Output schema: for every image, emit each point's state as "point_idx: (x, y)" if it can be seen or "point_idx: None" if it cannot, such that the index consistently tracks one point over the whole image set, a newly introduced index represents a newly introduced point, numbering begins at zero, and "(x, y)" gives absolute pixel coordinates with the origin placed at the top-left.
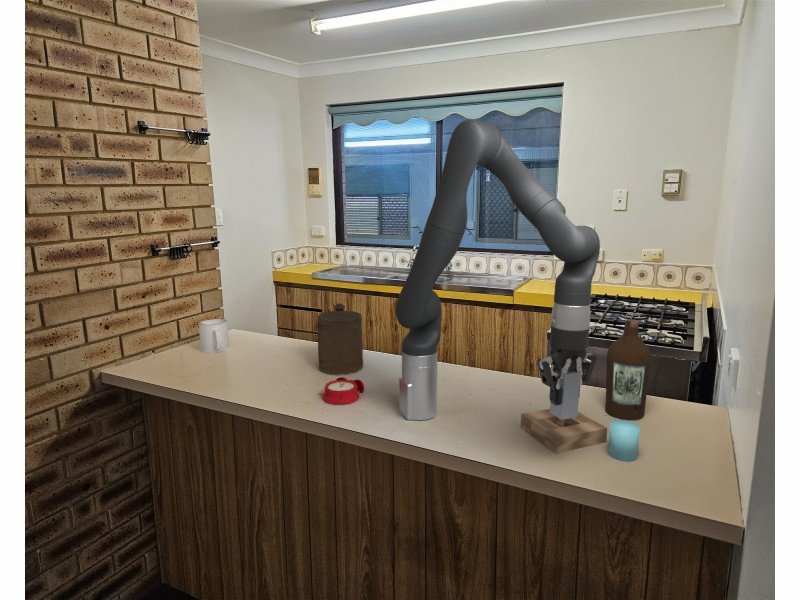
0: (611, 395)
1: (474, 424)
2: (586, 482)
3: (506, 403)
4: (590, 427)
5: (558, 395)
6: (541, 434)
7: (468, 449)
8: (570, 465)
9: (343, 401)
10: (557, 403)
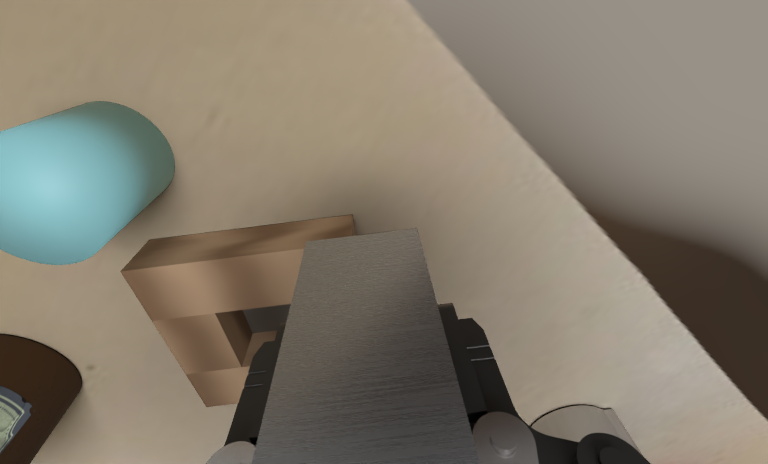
0: (23, 429)
1: None
2: (355, 4)
3: None
4: (187, 285)
5: (465, 361)
6: None
7: (579, 282)
8: (348, 134)
9: None
10: (454, 310)
